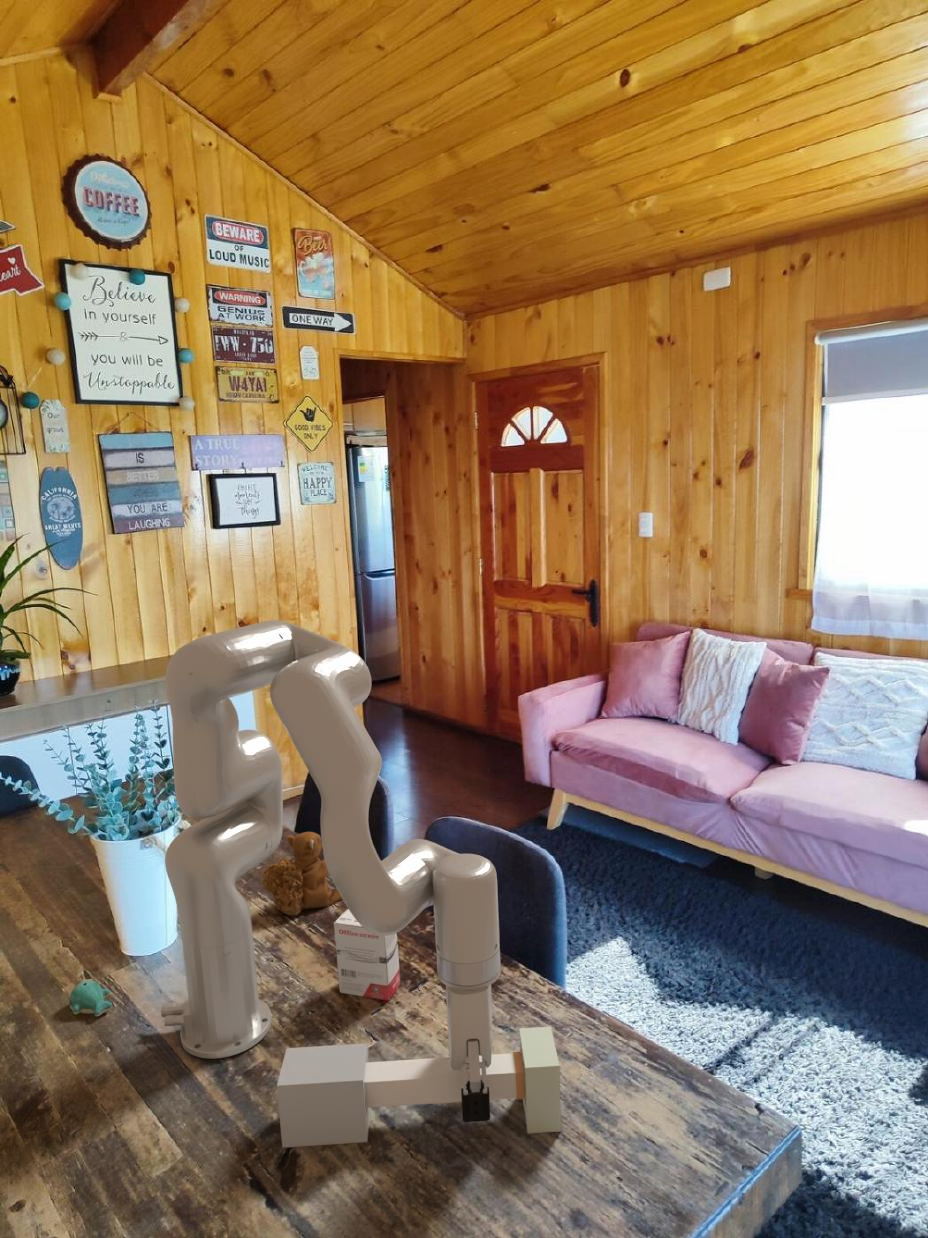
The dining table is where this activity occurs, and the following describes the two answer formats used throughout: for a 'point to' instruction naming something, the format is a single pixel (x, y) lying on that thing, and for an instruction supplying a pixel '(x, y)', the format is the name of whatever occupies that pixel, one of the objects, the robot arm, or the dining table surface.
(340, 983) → the ink box
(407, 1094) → the orange-striped white bar
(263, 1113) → the dining table surface
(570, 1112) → the dining table surface
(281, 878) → the stuffed squirrel
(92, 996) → the whale figurine
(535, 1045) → the socket
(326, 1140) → the grey block
